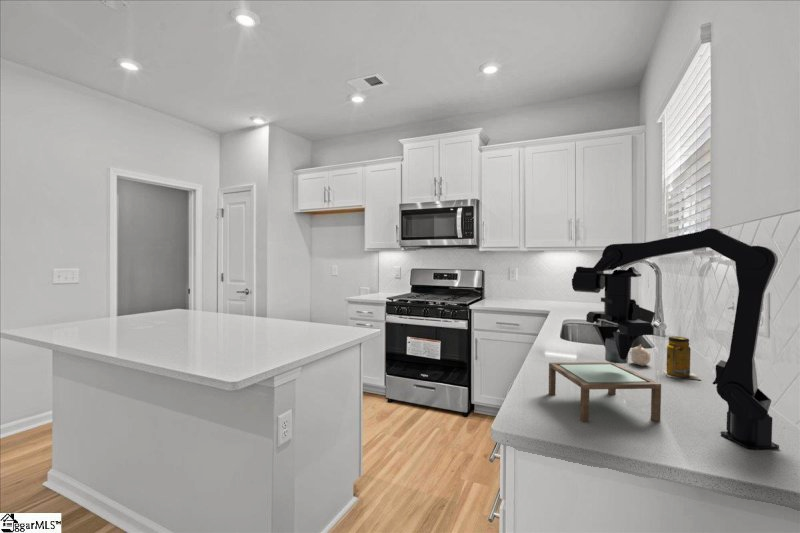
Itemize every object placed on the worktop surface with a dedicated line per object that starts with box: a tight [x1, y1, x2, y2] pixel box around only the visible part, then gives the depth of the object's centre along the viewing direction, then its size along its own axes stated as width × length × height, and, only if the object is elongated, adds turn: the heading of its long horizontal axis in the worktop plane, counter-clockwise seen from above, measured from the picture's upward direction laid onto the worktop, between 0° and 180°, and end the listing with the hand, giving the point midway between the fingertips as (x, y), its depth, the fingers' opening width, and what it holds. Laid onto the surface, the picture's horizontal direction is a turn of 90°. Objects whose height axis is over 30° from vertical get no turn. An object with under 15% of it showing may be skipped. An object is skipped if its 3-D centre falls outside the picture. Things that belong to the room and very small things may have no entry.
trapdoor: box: [560, 364, 647, 383], centre depth 95 cm, size 14×14×1 cm
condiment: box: [662, 335, 702, 381], centre depth 120 cm, size 7×8×12 cm
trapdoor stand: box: [548, 361, 662, 423], centre depth 95 cm, size 18×18×8 cm
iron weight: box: [604, 337, 629, 365], centre depth 95 cm, size 5×5×6 cm
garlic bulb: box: [629, 343, 652, 367], centre depth 132 cm, size 7×6×8 cm
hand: (616, 356), depth 95 cm, fingers closed on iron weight, 5 cm apart
